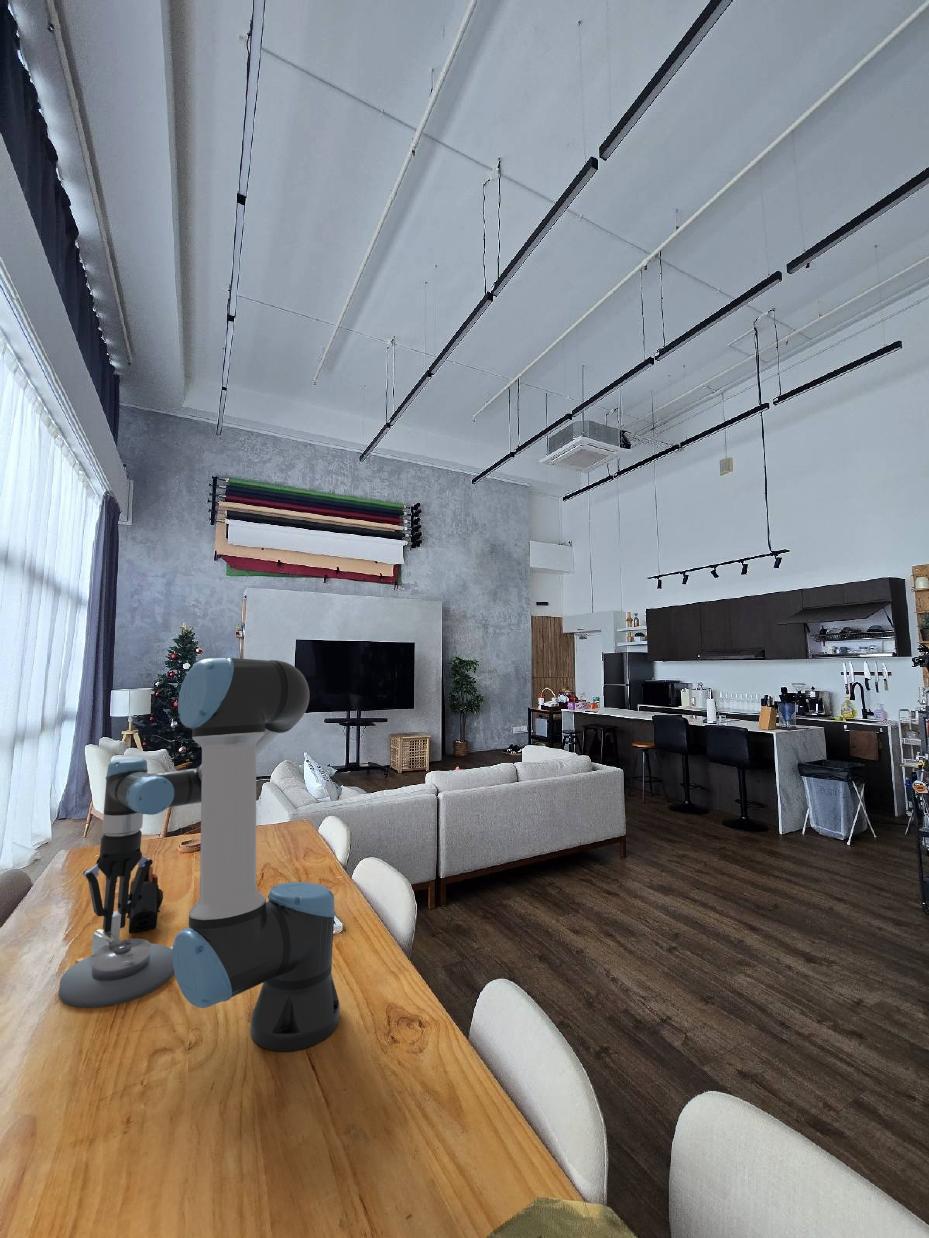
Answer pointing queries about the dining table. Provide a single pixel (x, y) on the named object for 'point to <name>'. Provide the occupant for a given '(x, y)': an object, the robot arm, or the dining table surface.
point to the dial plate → (114, 981)
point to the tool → (146, 905)
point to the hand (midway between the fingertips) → (112, 945)
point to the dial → (118, 956)
